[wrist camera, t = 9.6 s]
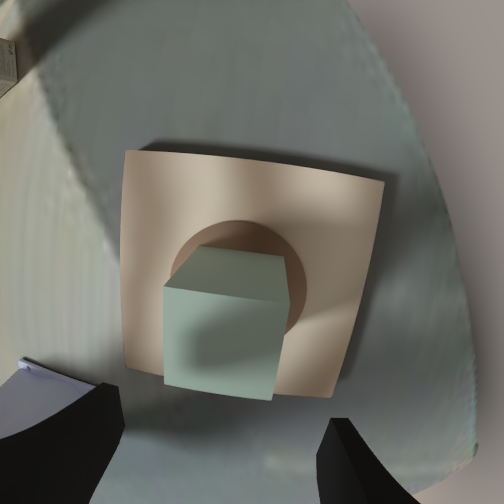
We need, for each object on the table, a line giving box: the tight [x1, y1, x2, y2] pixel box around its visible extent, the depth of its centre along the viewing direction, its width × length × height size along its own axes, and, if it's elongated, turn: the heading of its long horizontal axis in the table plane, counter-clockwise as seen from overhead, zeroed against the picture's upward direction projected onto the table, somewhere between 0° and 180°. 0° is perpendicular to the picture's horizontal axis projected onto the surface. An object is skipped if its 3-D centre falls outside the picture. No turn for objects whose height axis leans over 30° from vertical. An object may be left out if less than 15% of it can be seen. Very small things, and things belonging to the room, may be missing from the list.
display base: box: [120, 150, 385, 398], centre depth 18 cm, size 14×14×2 cm
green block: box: [163, 246, 290, 401], centre depth 14 cm, size 4×4×6 cm
